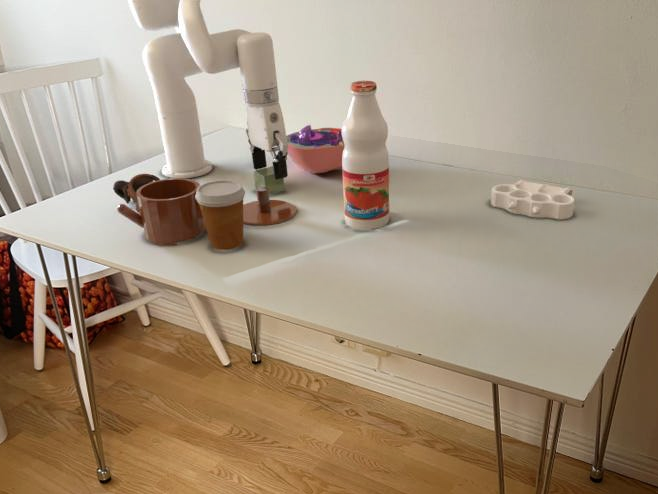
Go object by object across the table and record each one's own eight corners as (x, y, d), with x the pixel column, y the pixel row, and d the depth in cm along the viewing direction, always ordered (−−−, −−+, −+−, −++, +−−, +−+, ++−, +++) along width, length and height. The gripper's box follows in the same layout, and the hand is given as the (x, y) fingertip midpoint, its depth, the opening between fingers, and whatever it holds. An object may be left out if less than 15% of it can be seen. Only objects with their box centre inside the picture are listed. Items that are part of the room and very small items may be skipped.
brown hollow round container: (136, 231, 149) (127, 187, 144) (191, 216, 155) (184, 173, 149) (159, 251, 140) (150, 205, 135) (217, 234, 146) (210, 190, 141)
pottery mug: (170, 197, 166) (170, 173, 158) (162, 229, 161) (161, 205, 154) (118, 187, 164) (115, 162, 157) (108, 218, 159) (105, 194, 152)
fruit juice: (387, 212, 152) (386, 76, 137) (391, 230, 145) (390, 88, 129) (344, 214, 152) (338, 78, 137) (345, 232, 145) (339, 90, 129)
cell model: (365, 181, 169) (364, 133, 163) (282, 183, 170) (277, 136, 163) (365, 158, 183) (363, 114, 177) (288, 160, 184) (284, 116, 177)
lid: (223, 214, 155) (220, 187, 152) (276, 199, 161) (274, 173, 158) (252, 233, 146) (249, 205, 142) (307, 217, 152) (305, 190, 148)
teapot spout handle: (122, 232, 143) (115, 203, 140) (122, 228, 145) (115, 200, 142) (223, 219, 147) (219, 190, 144) (222, 215, 149) (218, 187, 146)
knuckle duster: (585, 202, 153) (562, 226, 143) (508, 188, 162) (480, 210, 152) (588, 187, 151) (564, 210, 142) (509, 174, 160) (482, 195, 150)
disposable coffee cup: (212, 259, 136) (202, 200, 129) (197, 242, 143) (187, 185, 136) (258, 248, 139) (251, 190, 133) (241, 232, 147) (234, 175, 140)
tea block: (255, 191, 166) (253, 170, 163) (274, 186, 168) (272, 166, 165) (266, 197, 162) (263, 176, 160) (284, 192, 165) (283, 171, 162)
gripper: (296, 98, 149) (304, 178, 158) (257, 86, 161) (266, 161, 170) (265, 105, 145) (274, 186, 155) (227, 92, 157) (238, 168, 167)
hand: (270, 172), depth 162 cm, fingers open, 9 cm apart
